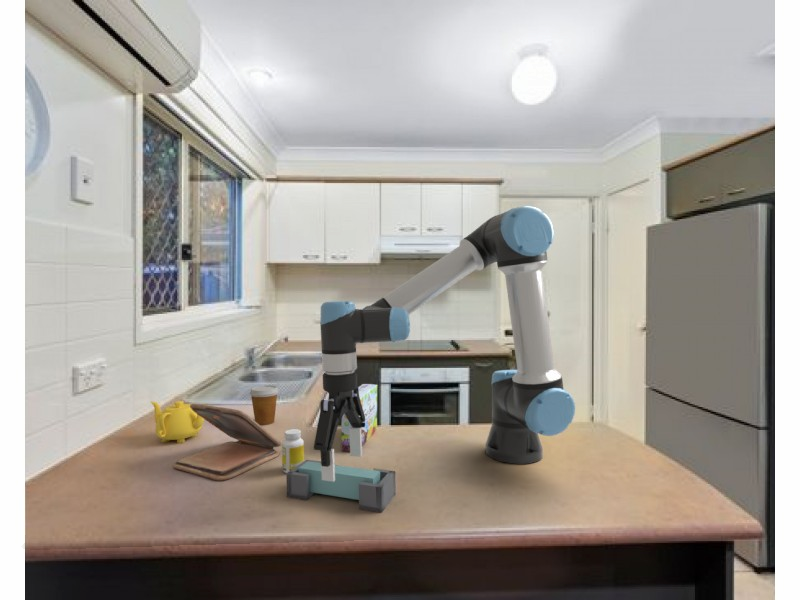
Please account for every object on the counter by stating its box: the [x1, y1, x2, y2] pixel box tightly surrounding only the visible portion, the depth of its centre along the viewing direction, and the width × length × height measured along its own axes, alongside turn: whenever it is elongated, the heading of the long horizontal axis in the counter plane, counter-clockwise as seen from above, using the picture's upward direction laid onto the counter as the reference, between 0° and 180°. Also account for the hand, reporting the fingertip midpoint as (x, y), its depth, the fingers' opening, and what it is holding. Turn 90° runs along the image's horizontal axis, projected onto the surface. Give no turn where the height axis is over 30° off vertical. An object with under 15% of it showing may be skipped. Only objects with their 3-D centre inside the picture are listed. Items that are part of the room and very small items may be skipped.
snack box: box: [340, 383, 378, 452], centre depth 133 cm, size 21×6×15 cm, turn 168°
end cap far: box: [285, 459, 321, 501], centre depth 100 cm, size 5×8×5 cm, turn 161°
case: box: [172, 403, 282, 481], centre depth 118 cm, size 20×21×16 cm
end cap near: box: [358, 468, 396, 513], centre depth 94 cm, size 5×8×5 cm, turn 161°
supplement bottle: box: [281, 428, 305, 474], centre depth 111 cm, size 5×5×10 cm
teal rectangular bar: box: [299, 461, 380, 501], centre depth 97 cm, size 18×4×5 cm, turn 71°
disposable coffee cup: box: [249, 384, 279, 426], centre depth 152 cm, size 10×10×12 cm
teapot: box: [150, 400, 205, 445], centre depth 135 cm, size 20×15×12 cm
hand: (343, 467), depth 97 cm, fingers open, 13 cm apart
